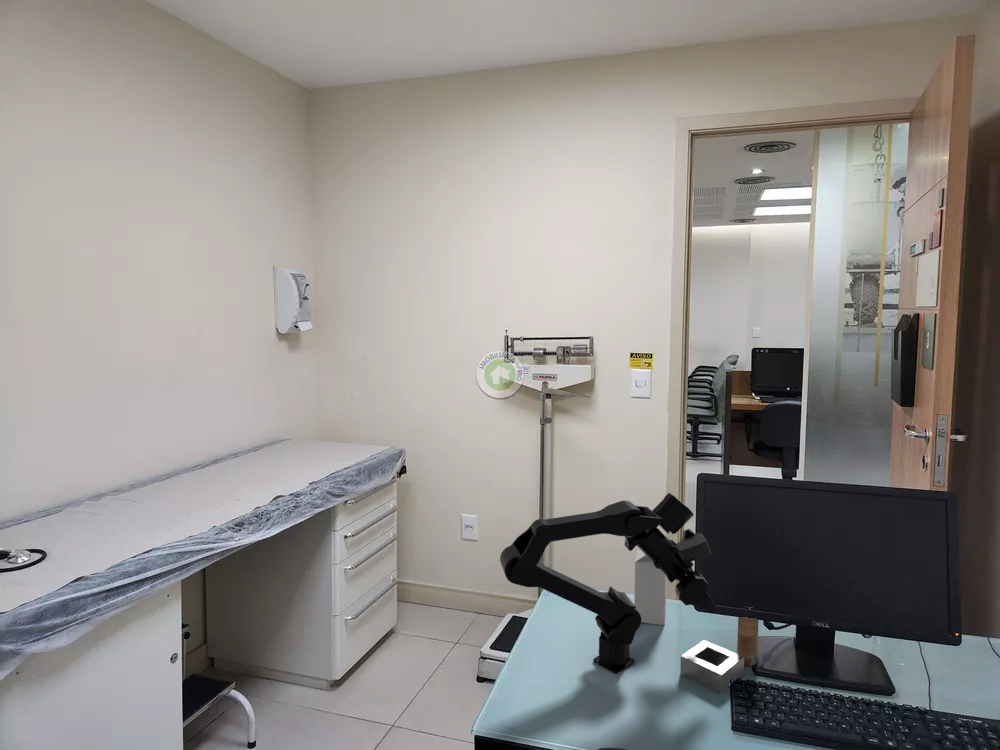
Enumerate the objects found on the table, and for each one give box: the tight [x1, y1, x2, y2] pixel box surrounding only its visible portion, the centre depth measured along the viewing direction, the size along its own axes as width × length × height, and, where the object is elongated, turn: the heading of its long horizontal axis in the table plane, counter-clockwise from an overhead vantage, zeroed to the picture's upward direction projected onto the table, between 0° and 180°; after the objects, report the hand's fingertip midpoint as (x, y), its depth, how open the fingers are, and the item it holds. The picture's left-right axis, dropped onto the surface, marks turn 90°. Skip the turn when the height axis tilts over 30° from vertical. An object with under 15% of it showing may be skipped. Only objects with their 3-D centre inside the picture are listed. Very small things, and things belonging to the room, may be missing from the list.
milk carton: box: [633, 548, 667, 626], centre depth 152 cm, size 7×7×19 cm
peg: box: [736, 606, 760, 667], centre depth 134 cm, size 4×4×13 cm
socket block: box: [679, 639, 745, 695], centre depth 129 cm, size 9×9×4 cm
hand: (709, 600), depth 133 cm, fingers open, 9 cm apart
